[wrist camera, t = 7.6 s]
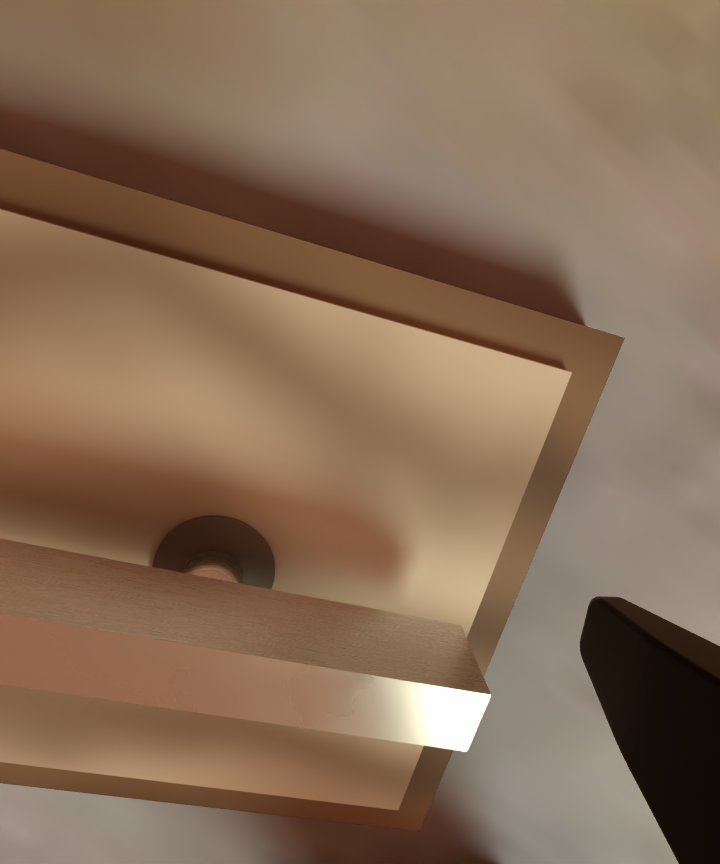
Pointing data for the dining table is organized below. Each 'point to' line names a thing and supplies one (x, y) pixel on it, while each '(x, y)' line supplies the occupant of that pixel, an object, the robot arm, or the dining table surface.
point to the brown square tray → (265, 464)
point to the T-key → (232, 648)
